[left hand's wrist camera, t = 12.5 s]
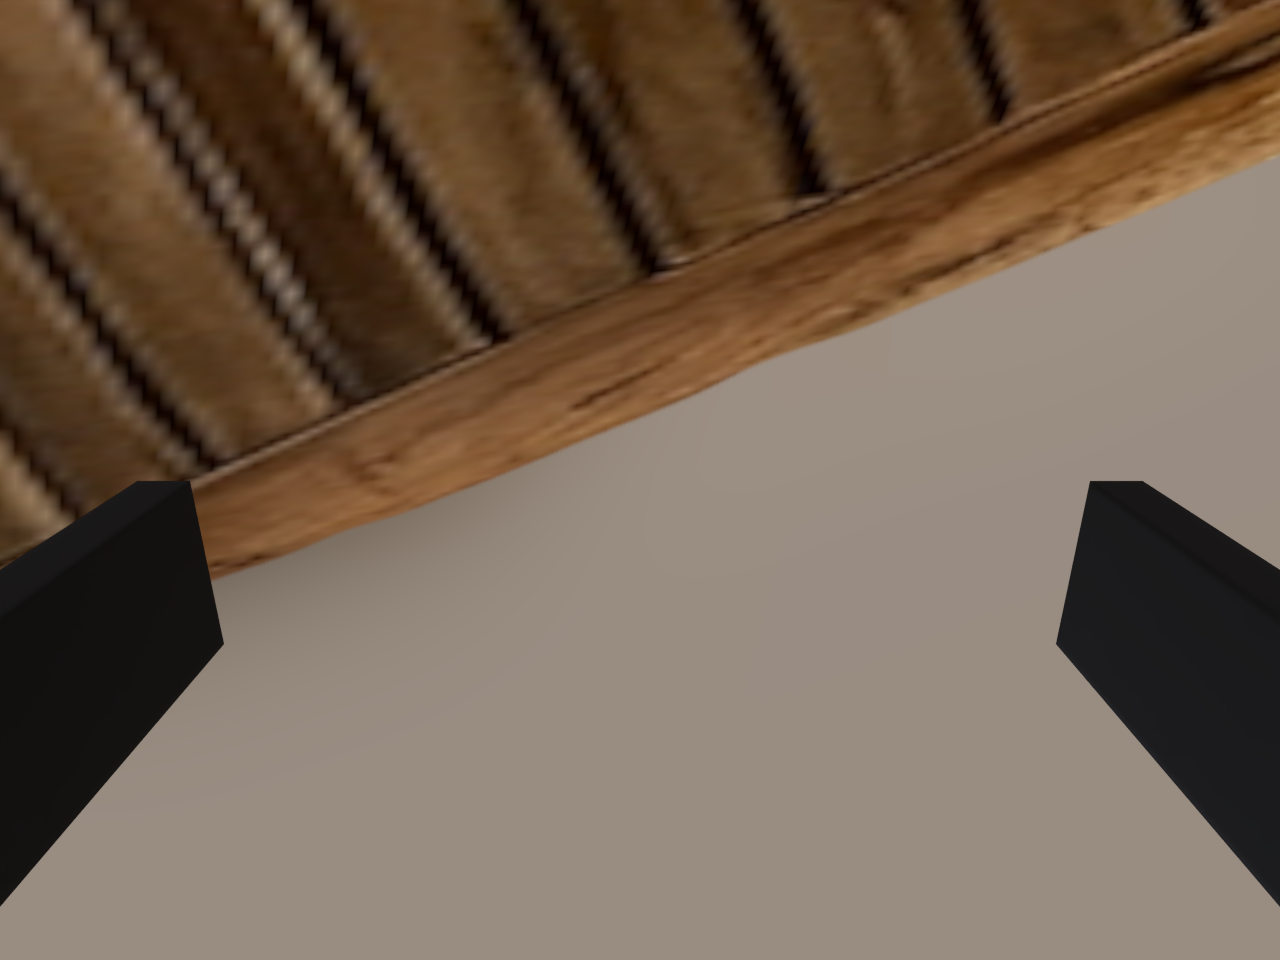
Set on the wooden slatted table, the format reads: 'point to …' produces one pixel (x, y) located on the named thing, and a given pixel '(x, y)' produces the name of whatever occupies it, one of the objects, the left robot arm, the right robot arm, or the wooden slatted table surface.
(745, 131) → the wooden slatted table surface
